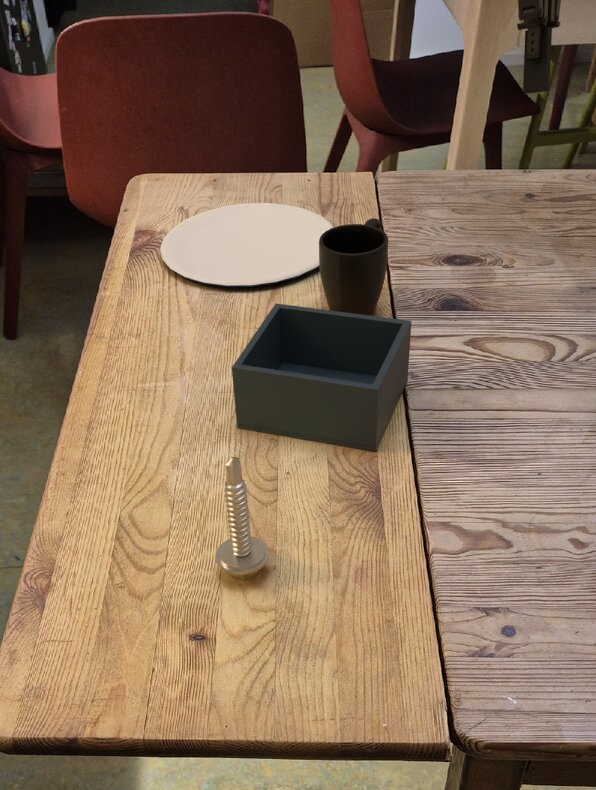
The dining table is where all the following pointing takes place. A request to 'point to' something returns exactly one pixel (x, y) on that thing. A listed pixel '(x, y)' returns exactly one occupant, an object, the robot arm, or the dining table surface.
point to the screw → (239, 530)
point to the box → (322, 375)
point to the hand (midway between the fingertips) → (536, 91)
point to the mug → (353, 266)
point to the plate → (245, 244)
